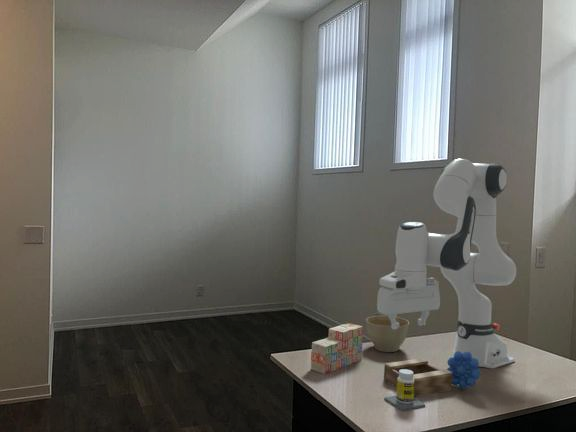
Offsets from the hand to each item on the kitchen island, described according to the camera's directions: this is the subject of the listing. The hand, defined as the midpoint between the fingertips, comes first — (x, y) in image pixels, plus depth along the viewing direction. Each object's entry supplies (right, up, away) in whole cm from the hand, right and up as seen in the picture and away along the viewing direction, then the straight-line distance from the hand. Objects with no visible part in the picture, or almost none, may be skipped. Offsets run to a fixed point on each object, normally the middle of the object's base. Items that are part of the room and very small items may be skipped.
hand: (408, 327), depth 141 cm
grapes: (+20, -22, +11) cm, 31 cm away
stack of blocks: (-18, -20, +29) cm, 39 cm away
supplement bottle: (-1, -21, -1) cm, 21 cm away
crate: (+6, -21, +12) cm, 25 cm away
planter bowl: (+3, -19, +48) cm, 52 cm away
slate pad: (-2, -21, -2) cm, 21 cm away
